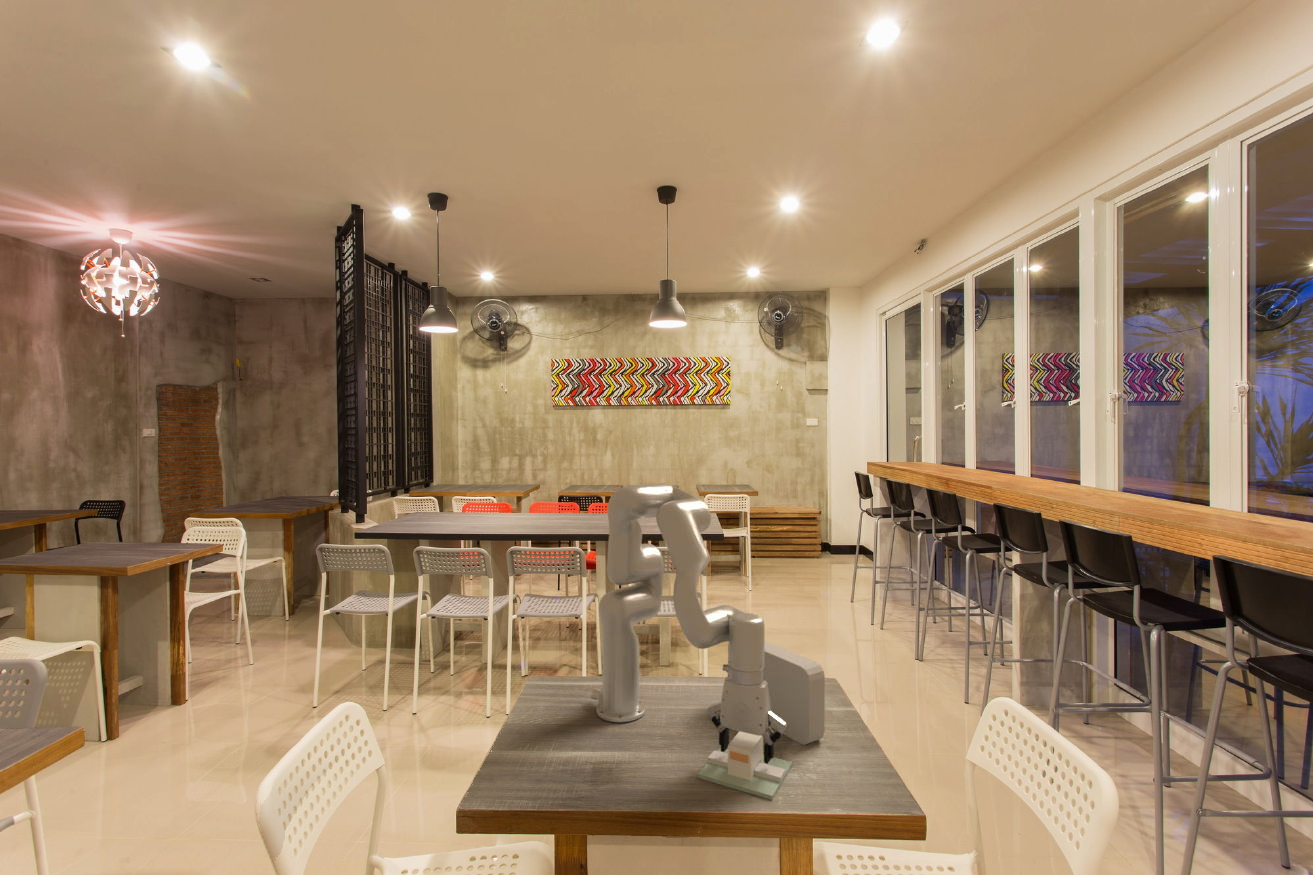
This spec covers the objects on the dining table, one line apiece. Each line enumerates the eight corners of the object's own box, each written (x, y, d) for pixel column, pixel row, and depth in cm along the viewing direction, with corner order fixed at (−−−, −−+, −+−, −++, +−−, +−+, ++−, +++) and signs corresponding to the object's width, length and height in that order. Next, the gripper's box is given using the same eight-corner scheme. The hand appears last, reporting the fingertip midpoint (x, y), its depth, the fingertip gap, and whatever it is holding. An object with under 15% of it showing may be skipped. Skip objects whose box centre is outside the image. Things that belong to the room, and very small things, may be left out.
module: (727, 774, 125) (727, 745, 125) (741, 756, 132) (741, 728, 132) (750, 780, 123) (750, 751, 123) (763, 761, 130) (763, 734, 130)
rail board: (698, 777, 125) (698, 769, 125) (723, 747, 138) (723, 739, 138) (772, 800, 118) (772, 790, 118) (792, 765, 130) (792, 757, 130)
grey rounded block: (831, 739, 141) (831, 663, 141) (808, 749, 137) (809, 670, 137) (748, 696, 165) (749, 630, 165) (727, 702, 161) (727, 635, 161)
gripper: (701, 672, 128) (701, 752, 128) (781, 688, 120) (780, 774, 120) (715, 661, 135) (715, 737, 135) (791, 675, 127) (791, 756, 127)
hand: (746, 754), depth 128 cm, fingers open, 9 cm apart
